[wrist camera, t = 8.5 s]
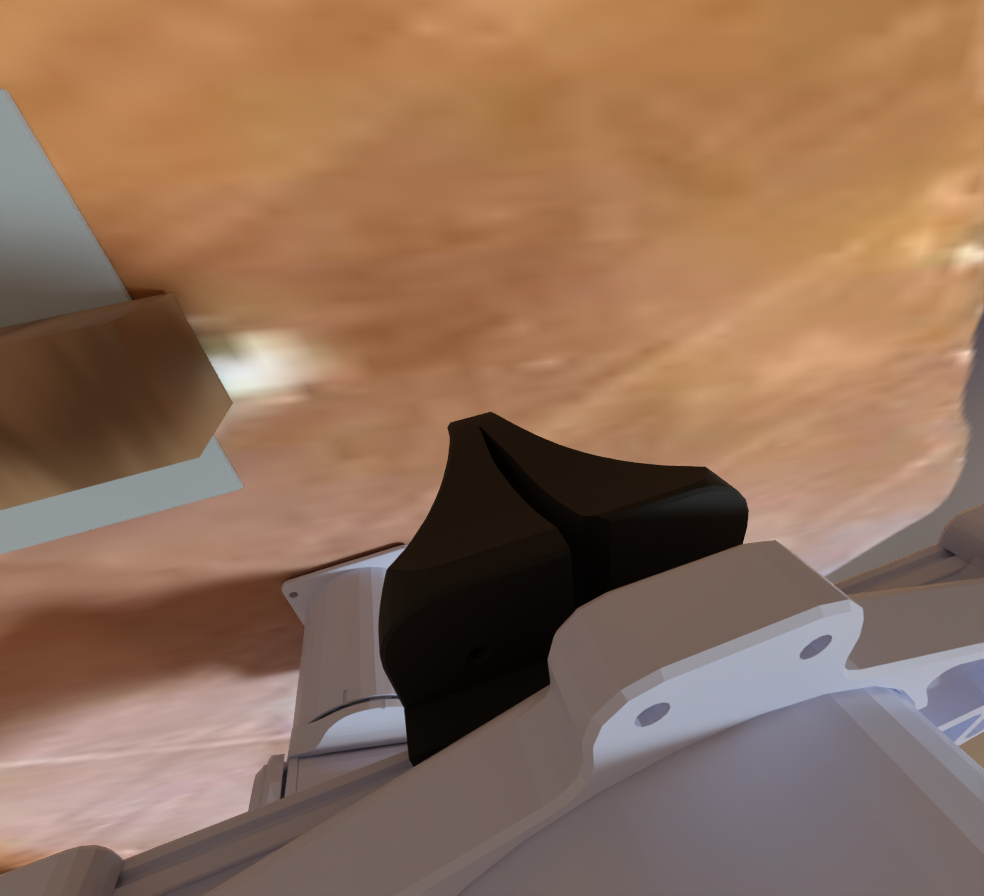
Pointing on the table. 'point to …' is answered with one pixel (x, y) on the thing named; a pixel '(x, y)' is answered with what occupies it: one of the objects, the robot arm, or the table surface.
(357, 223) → the table surface
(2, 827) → the table surface
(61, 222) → the rubber mat
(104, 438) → the walnut block
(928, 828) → the robot arm
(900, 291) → the table surface
